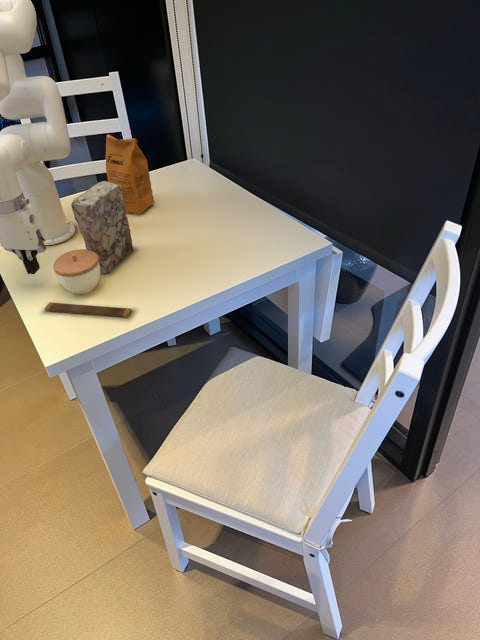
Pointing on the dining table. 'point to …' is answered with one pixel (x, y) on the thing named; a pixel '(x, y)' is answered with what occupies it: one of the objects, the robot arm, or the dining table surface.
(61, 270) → the trinket box
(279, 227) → the dining table surface
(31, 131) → the robot arm
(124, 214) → the stone block
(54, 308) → the walnut straight-edge
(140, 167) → the coffee package
